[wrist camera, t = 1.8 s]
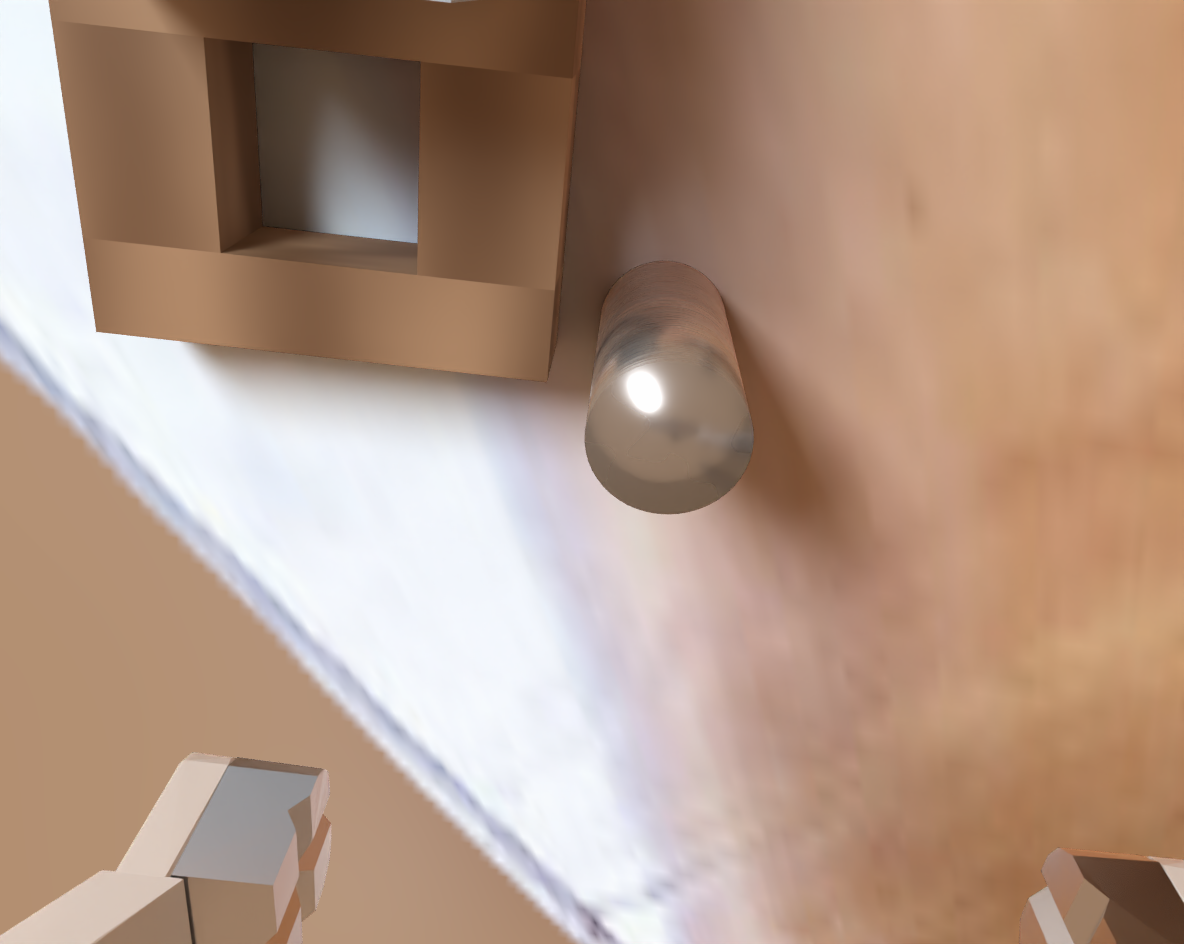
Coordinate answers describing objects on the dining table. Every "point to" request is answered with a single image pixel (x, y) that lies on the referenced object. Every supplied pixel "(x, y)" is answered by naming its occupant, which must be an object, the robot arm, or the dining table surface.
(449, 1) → the housing cap
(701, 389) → the stub peg
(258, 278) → the socket block
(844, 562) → the dining table surface
